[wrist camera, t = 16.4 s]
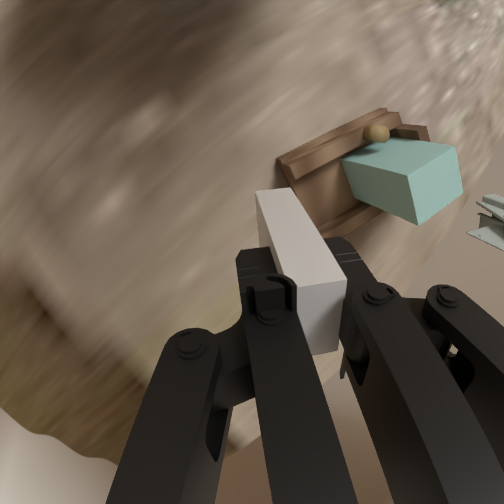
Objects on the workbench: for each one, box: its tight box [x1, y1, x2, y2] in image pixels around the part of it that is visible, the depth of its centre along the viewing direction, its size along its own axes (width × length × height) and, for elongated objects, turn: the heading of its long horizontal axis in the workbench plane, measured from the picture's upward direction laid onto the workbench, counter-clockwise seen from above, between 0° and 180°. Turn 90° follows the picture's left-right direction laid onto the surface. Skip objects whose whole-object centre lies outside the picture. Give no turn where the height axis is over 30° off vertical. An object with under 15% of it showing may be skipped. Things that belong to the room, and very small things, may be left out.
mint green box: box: [341, 137, 463, 226], centre depth 30 cm, size 7×5×11 cm
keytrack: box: [276, 108, 430, 238], centre depth 32 cm, size 15×11×7 cm
